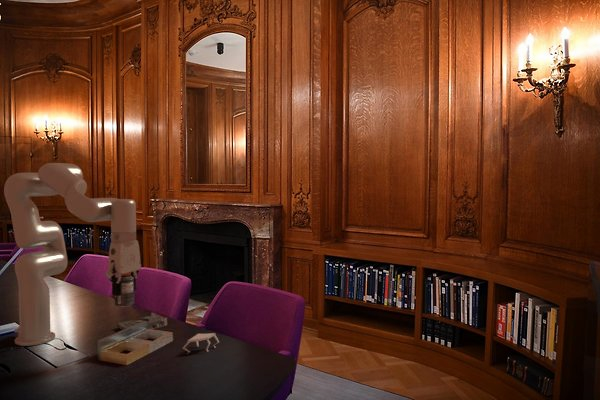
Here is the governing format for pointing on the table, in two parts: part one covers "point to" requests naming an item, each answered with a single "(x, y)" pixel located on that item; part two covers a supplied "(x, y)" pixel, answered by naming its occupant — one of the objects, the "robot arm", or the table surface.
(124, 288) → the pill bottle
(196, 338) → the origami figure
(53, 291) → the table surface
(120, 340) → the two-compartment cubby organizer
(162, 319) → the graphics card
